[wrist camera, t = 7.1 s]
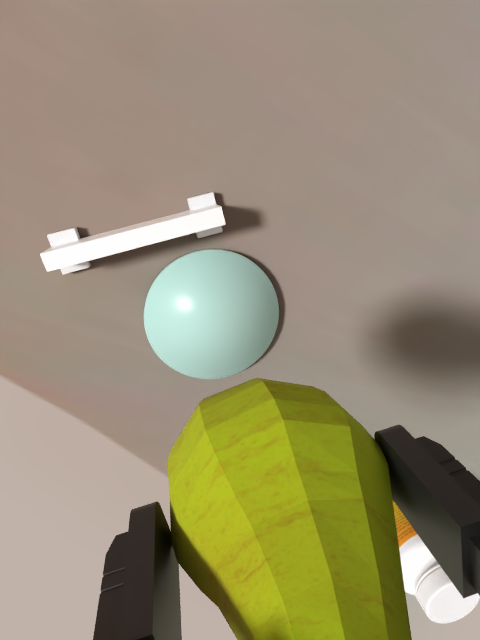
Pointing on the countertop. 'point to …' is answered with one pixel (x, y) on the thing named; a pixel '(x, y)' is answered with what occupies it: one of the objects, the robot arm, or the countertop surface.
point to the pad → (211, 313)
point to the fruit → (287, 516)
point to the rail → (132, 235)
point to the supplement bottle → (428, 577)
